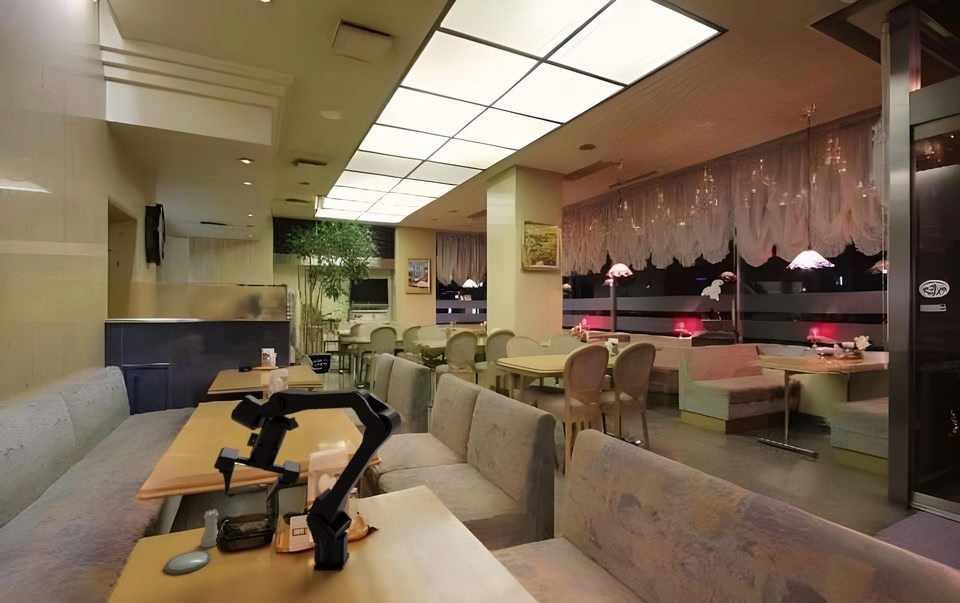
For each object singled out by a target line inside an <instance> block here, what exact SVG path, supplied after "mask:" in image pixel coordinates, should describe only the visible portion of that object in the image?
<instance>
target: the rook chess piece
mask: <svg viewBox="0 0 960 603" xmlns="http://www.w3.org/2000/svg"><path fill="white" fill-rule="evenodd" d="M218 516H219V513H218V510H217V509H212V510H211V509H209V510H208V511H207V510H206V511H205V513H204V515H203V518H204V519H205V520H204V524H205V526H204V533H203V534H202V536H201V537H200V547H202V548H204V549H206V548H209V549H210V548H213V547H215V546H217V545H218V544H217V543H216V538H217V534H218V532H219V530H218V526H217V525H218V524H217V523H218V519H217V518H218ZM216 544H217V545H216Z"/></svg>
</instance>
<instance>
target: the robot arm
mask: <svg viewBox="0 0 960 603" xmlns="http://www.w3.org/2000/svg"><path fill="white" fill-rule="evenodd" d="M331 409H352V410H353V411H354V413H355V414H356V416H357V418H358V419H359V422H360V423H361V424H363V426H364V427H365V428H364V432H363V435H362V439H361V443H360V445H359V447H358V448H357V449H356V451H355V452H354V454H353V456H352V457H351V459H349V460H350V461H349V462H348V463H347V465H346V466H345V468H344V470H343V471H342V472H341V474H340V476H339V477H338V478H337V480H336V482H335V483H334V485H333V486H332V488H331V489H330V487H328V488H326V489H324V491H322V492H321V493H320V494H318V495H317V496H316V497H315V498H314V500H313V502H312V505H311V506H310V508H308V509H307V510H306V513H308V514H307V516H306V519H305V522H306V525H307V528H308V529H309V532H310V534H311V538H312V541H313V543H314V547H313V550H314V555H313V560H314V563H315V565H314V566H313V570H315V571H318V570H319V571H322V570H323V571H325V570H326V571H327V570H328V571H329V570H330V571H331V570H335V571H336V570H343V569H344V567H345V565H346V563H347V562H348V559H349V557H350V552H348V538H349V536H348V533H349V532H348V531H347V530H349V529H350V528H351V526H352V522H353V519H352V518H351V517H350V515H349V514H348V513H347V512H346V511H345V509H346V507H347V501H348V499H349V498H348V497H349V495H350V494H351V492H352V491H353V490H354V488H355V486H356V485H357V483H358V481H359V480H360V479H361V477H362V475H364V472H365V471H366V469H367V468H368V466H369V465H370V463H371V462H372V460H373V459H374V457H375V456H376V454H377V452H378V451H379V450H380V449H381V447H382V446H384V445H385V444H386V442H388V440H389V439H391V438H392V436H393V435H394V434H396V433H397V431H398V430H399V429H400V428H401V426H402V422H403V421H402V417H401V415H400V412H398V411H397V410H395V409H394V408H391V407H389V405H388V404H386V403H385V402H384V401H382V400H380V399H378V398H377V397H375V396H374V395H373V394H372V393H371V392H369V391H368V390H367V389H366V388H358V389H347V390H346V389H345V390H331V391H330V390H329V391H328V390H327V391H310V390H307V389H304V388H296V387H291V388H287V389H283V390H280V391H275V392H273V393H272V394H271V395H270V396H269V399H268V400H267V401H266V402H263V401H261V400H259V399H257V398H256V397H255V396H252V394H248V395H245V396H243V398H242V399H241V401H240V402H239V403H238V404H237V405H236V406H235V408H233V410H231V413H230V418H231V421H234V422H236V424H239V425H241V426H243V427H245V428H246V429H248V430H250V431H252V432H251V433H250V436H249V438H248V441H247V443H246V446H247V447H251V450H250V453H249V457H245V456H241V455H239V454H240V449H236V448H233V447H227V446H224V447H222V448H221V449H220V451H219V453H218V455H217V459H216V460H215V462H214V465H213V468H214V469H215V470H218V473H220V474H222V476H223V481H224V495H225V496H227V495H228V493H229V491H230V488H231V484H232V480H233V476H234V472H235V468H236V466H240V467H246V468H251V469H254V470H260V471H264V472H271V473H275V474H277V475H276V478H275V481H274V482H273V483H272V486H271V488H270V489H269V492H268V493H267V496H266V498H265V503H268V502H270V500H271V499H272V498H273V497H274V496H275V495H276V494H277V493H278V492H280V491H281V490H282V489H283V488H285V487H290V486H291V485H297V484H298V481H299V479H300V476H301V467H302V465H301V463H300V462H297V461H291V460H286V459H285V461H284V463H283V464H278V463H275V462H276V459H277V457H278V455H279V452H280V450H281V447H282V446H283V442H284V440H285V438H286V435H287V432H291V431H293V430H296V429H297V428H299V427H300V426H299V424H298V423H299V422H297V420H296V417H294V416H292V417H288V415H292V414H296V413H300V412H303V411H308V410H310V411H311V410H331ZM258 429H260V431H259V433H257V432H253V431H255V430H258Z"/></svg>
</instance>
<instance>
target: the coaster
mask: <svg viewBox="0 0 960 603" xmlns="http://www.w3.org/2000/svg"><path fill="white" fill-rule="evenodd" d="M211 558H212V555H211V553H210V552H209V551H207V550H193V551H189V552H185V553H181V554H178V555H176V556H173V557H172V558H171V559H169V560H168V561H167V562H166V563H165V564H164V572H165V573H166V574H168V575H172V576H173V575H174V576H175V575H185V574H189V573H192V572H195V571H198V570H200V569H202V568H203V567H205V566H207V565H209V563H210V561H211Z"/></svg>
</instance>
